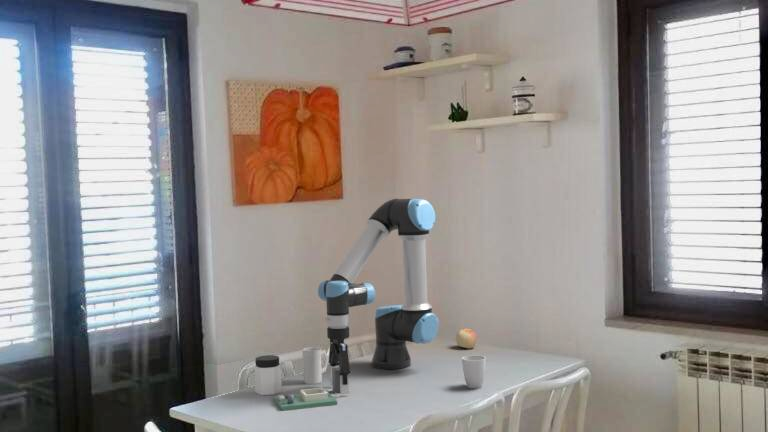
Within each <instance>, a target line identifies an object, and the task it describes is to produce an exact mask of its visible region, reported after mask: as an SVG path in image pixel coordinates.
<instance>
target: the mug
mask: <svg viewBox="0 0 768 432" xmlns="http://www.w3.org/2000/svg"><path fill="white" fill-rule="evenodd" d="M322 356H323V357H324V364H323V363H322ZM322 364H323V367H322ZM328 365H329V355H328V353H327V352H326V349H322V348H321V347H318V346H317V347H315V346H310V347H305V348H302V367H303V383H304V384H307V385H317V384H321V383H322V381H323V380H322V379H323V378H322V375H323V373H326V371H327V368H328Z"/></svg>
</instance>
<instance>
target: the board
mask: <svg viewBox="0 0 768 432" xmlns="http://www.w3.org/2000/svg"><path fill="white" fill-rule="evenodd" d="M273 401H274V402H275V403H276V405H277V406H278V407H279V408H280V410H281V412H283V411H291V410H301V409H309V408H317V407H326V406H335V405H338V400H337V399H336V398H335V397H334V396H333V395H331V393H329V392H328V390H325V389H324V387H322V386H321V387H314V388H304V389H299V392H298V393H292V392H289V393H282V394H280V395H274V396H273Z"/></svg>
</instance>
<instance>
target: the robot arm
mask: <svg viewBox="0 0 768 432" xmlns="http://www.w3.org/2000/svg"><path fill="white" fill-rule="evenodd" d="M433 207H434V206H433V205H432V204H431V202H429V201H428V200H426V199H422V198H421V199H420V198H392V199H388V200H387V201H385V202H384V203H383V204H381V205H380V206H378V208H377V209H376V210H375V211H373V213H372V214H371V215H370V217H369V218H368V220H367V221H366V227H365V228H364V230H363V231H362V233H361V234H360V236H359V237H358V239H357V240H356V241H355V243H354V244H353V245H352V247H351V248H350V250H349V251H348V253H347V254H346V256H345V257H344V259H343V260H342V262H341V263H340V264H339V266H338V267H337V269H336V270H335V272H334V273H333V275H332V276H331V277H330V279H326V280H323V281H321V282H320V283H319V285H318V288H317V294H318V297H319V298H320V299H321V300H322V301H324V302H326V303H325V304H326V317H325V321H326V322H327V323H326V324H327V325H326V326H328V327H327V329H326V333H327V336H326V337H327V339H329V340H330V341H329V352H328V353H329V354H328V364H329V365H330V386H331V387H333V385H332V368H336V367H340V372H341V373H339V376H340V393H339V394H340V395H347V394H349V393H350V391H349V389H350V387H349V384H350V383H349V375H350V374H351V368H350V361H349V351H348V348H349V347H348V344H346V343H345V339H348V338H349V337H350V327H349V325H350V313H349V312H350V310H349V309H350V308H353V307H358V306H367V305H369V304H372V303H373V302H374V301H375V298H376V290H375V287H374V286H373V285H372V284H371V283H369V282H361V283H354V282H355V280H356V279H357V278H358V276H359V274H360V272H361V271H362V270H363V268H364V267H365V266H366V264H367V263H368V261H369V259H370V258H371V256H373V253H374V252H375V251H376V250H377V248H378V246H379V244H380V243H381V241H383V239H384V238H387V237H388V236H389V235H390V233H392V232H393V231H396V230H397V236H398V237H399V238H400V239H401V240H402V262H403V264H402V265H403V289H404V291H403V293H404V304H396V305H394V304H393V305H385V306H380V307H377V309H375V317H374V319H375V321H374V322H375V324H374V325H375V348H374V352H373V356H372V357H371V366H372V367H373V368H376V369H382V370H383V369H384V370H397V369H403V368H408V367H410V366H412V360H411V359H412V358H411V355H410V352H409V350H408V347H407V343H408V342H410V343H414V344H417V345H419V344H426V345H427V344H429V343H431V342H432V341H433V340H434V338H435V337H436V335H437V334H438V331H439V328H440V327H439V326H440V321H439V317H437V315H436V313H433V306H432V305H431V304H429V301H428V278H427V276H428V275H427V251H426V245H427V244H426V239H427V237H428V236H430V231H431V229H432V228H433V227H434V224H435V223H436V212H435V210H434V208H433ZM344 370H346V371H344Z"/></svg>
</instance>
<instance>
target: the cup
mask: <svg viewBox="0 0 768 432" xmlns="http://www.w3.org/2000/svg"><path fill="white" fill-rule="evenodd" d="M461 359H462V362H461V363H462V371H463V377H464V381H465V384H466V387H467V388H469V389H481V388H482V387H483V384H484V380H485V374H486V363H487V361H486V360H487V357H486V356H484V355H478V354H472V355H471V354H470V355H464V356H463V357H461Z"/></svg>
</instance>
